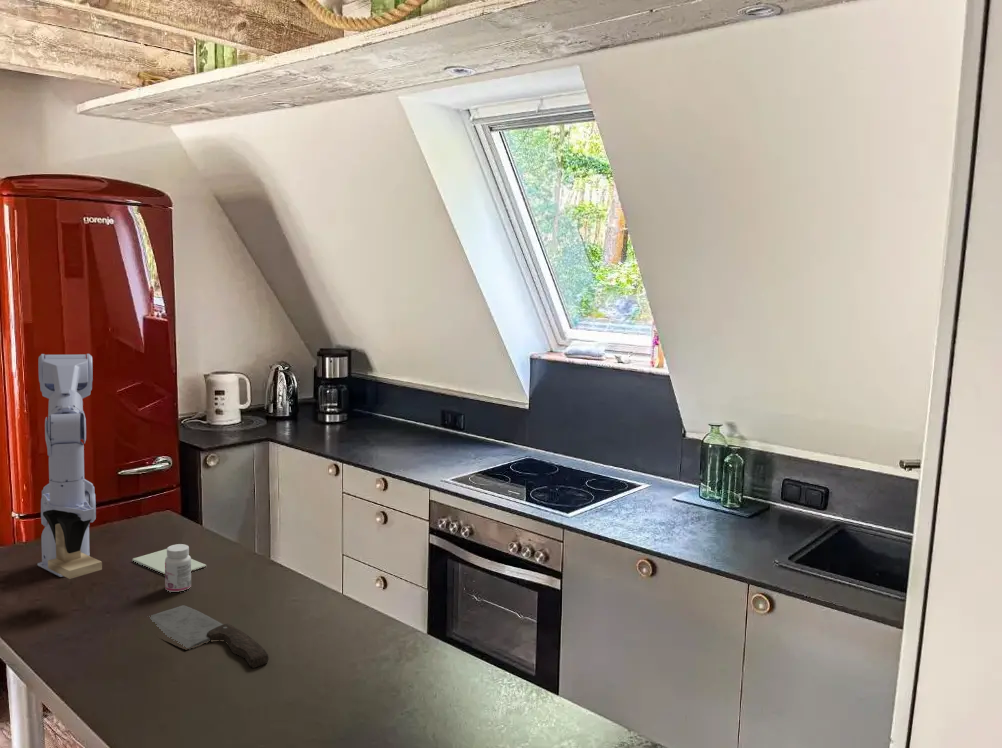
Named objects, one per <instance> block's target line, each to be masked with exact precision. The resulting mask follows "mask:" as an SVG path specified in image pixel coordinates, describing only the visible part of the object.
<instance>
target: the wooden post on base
mask: <svg viewBox="0 0 1002 748" xmlns="http://www.w3.org/2000/svg"><path fill="white" fill-rule="evenodd" d="M55 533H56V558H55V559H51V560H48V568H49V569H51V570H53V571H55V572H57V573H59V574H61V575H63V577H65V578H67V579H68V580H71V579H74V578H79V577H81V576H85V575H88V574H91V573H95V572H98V571H102V570H103V561H101V560H99V559H97V558H95V557H93V556H88V555H86V554H84V553H82V552H81V549H80V551H77V552H73V553H67V550H66V546H65V539H64V534H63V530H62V528H61V526H60V524H55Z"/></svg>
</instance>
